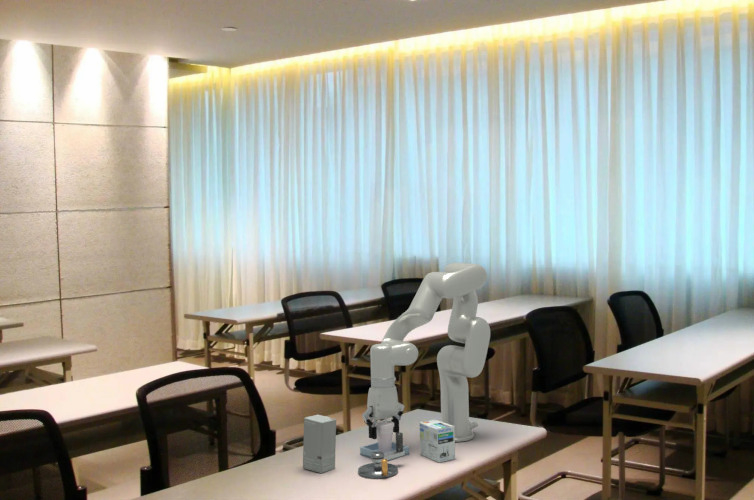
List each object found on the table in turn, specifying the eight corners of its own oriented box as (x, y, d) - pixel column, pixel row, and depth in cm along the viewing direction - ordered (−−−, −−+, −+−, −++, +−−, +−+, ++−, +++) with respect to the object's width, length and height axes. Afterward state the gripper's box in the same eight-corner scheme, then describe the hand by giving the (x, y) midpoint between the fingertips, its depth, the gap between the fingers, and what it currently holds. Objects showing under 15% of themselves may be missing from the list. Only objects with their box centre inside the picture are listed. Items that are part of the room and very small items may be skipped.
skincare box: (302, 468, 248) (300, 418, 247) (318, 463, 253) (317, 413, 252) (321, 474, 242) (320, 422, 241) (338, 468, 248) (336, 417, 247)
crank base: (379, 463, 251) (379, 445, 251) (406, 472, 242) (406, 454, 241) (350, 472, 243) (349, 454, 243) (376, 482, 234) (376, 463, 234)
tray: (386, 447, 268) (385, 439, 267) (409, 454, 259) (409, 446, 259) (360, 454, 260) (360, 447, 260) (383, 462, 252) (383, 454, 252)
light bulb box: (456, 459, 253) (455, 425, 252) (438, 463, 249) (437, 429, 249) (436, 451, 262) (435, 418, 262) (419, 454, 259) (418, 421, 258)
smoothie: (393, 456, 256) (392, 412, 255) (373, 455, 257) (372, 412, 256) (396, 450, 262) (395, 407, 262) (377, 449, 263) (376, 407, 263)
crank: (377, 464, 240) (376, 442, 239) (368, 461, 243) (367, 439, 242) (406, 455, 247) (406, 433, 247) (397, 452, 250) (397, 431, 250)
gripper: (394, 376, 267) (396, 427, 268) (354, 385, 256) (356, 438, 257) (410, 380, 261) (411, 432, 262) (370, 388, 250) (371, 443, 251)
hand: (384, 435), depth 259 cm, fingers open, 9 cm apart
